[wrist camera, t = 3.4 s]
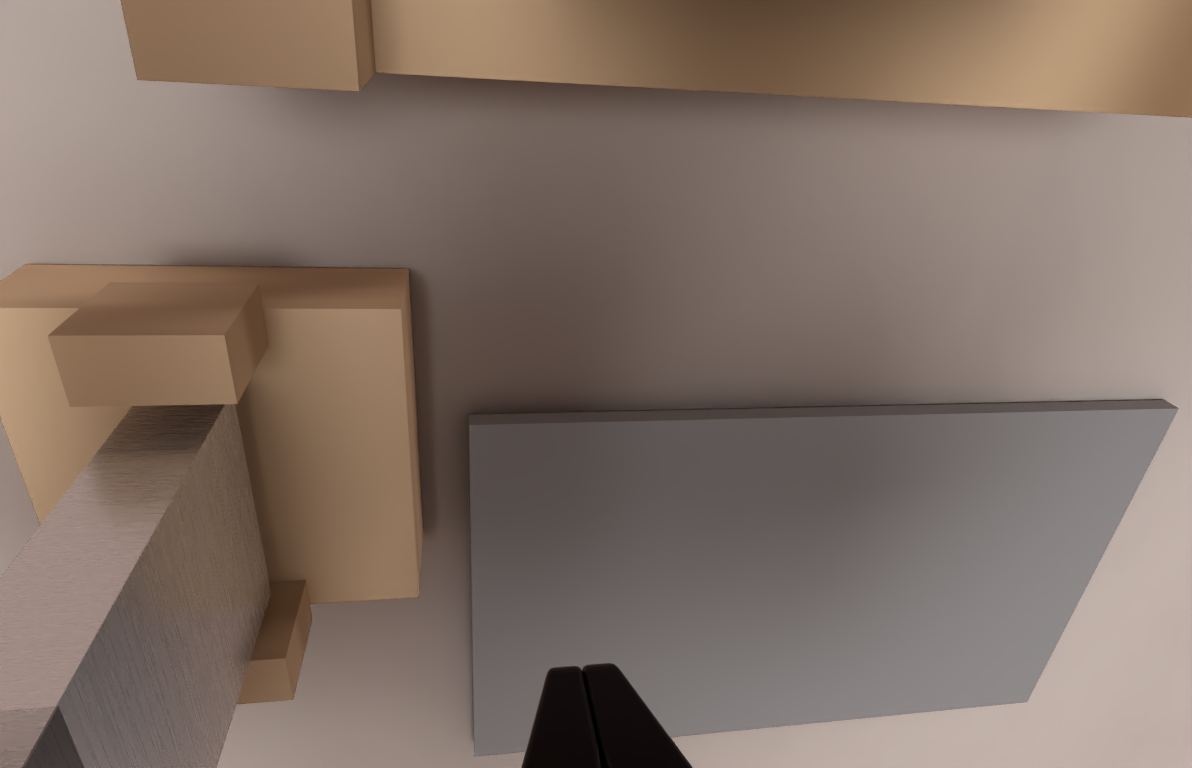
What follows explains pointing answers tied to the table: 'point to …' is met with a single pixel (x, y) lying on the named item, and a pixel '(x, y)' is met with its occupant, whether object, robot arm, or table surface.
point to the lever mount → (238, 412)
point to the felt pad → (790, 554)
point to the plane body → (696, 47)
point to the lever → (136, 602)
